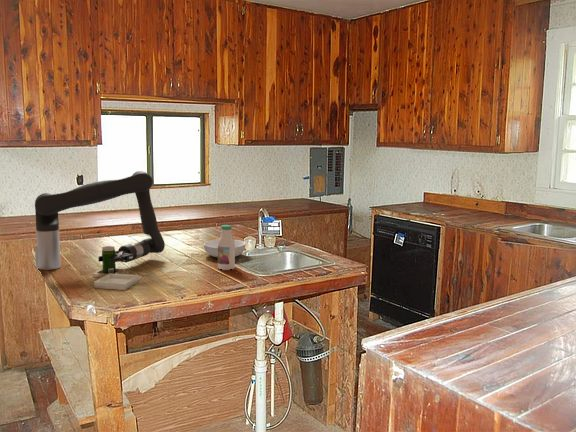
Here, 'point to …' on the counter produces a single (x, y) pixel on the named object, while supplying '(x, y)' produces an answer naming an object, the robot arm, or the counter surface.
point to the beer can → (106, 255)
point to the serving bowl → (212, 247)
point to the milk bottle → (226, 249)
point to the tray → (116, 281)
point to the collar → (99, 274)
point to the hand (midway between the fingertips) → (104, 260)
